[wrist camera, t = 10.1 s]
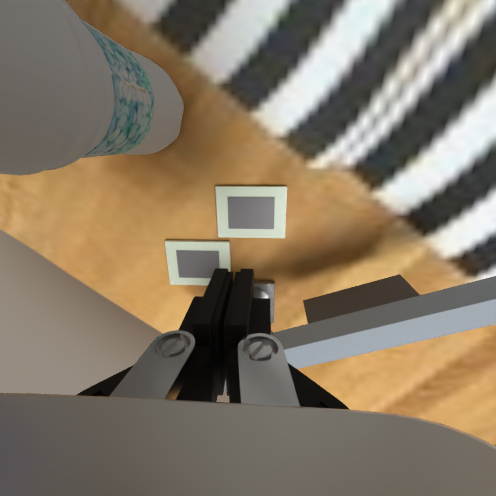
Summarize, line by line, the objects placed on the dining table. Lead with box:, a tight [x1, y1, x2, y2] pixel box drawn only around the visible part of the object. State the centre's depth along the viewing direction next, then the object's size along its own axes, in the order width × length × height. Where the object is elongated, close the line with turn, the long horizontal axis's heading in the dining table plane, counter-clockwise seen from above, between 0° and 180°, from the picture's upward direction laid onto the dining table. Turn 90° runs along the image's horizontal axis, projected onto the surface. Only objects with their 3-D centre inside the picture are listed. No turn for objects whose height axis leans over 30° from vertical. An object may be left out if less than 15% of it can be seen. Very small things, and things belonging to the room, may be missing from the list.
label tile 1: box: [216, 186, 287, 238], centre depth 24 cm, size 4×6×1 cm
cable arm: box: [224, 274, 496, 393], centre depth 20 cm, size 21×5×6 cm, turn 110°
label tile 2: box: [165, 240, 231, 285], centre depth 26 cm, size 4×6×1 cm
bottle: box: [0, 0, 184, 175], centre depth 12 cm, size 7×7×20 cm
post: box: [233, 280, 275, 323], centre depth 24 cm, size 4×4×7 cm
